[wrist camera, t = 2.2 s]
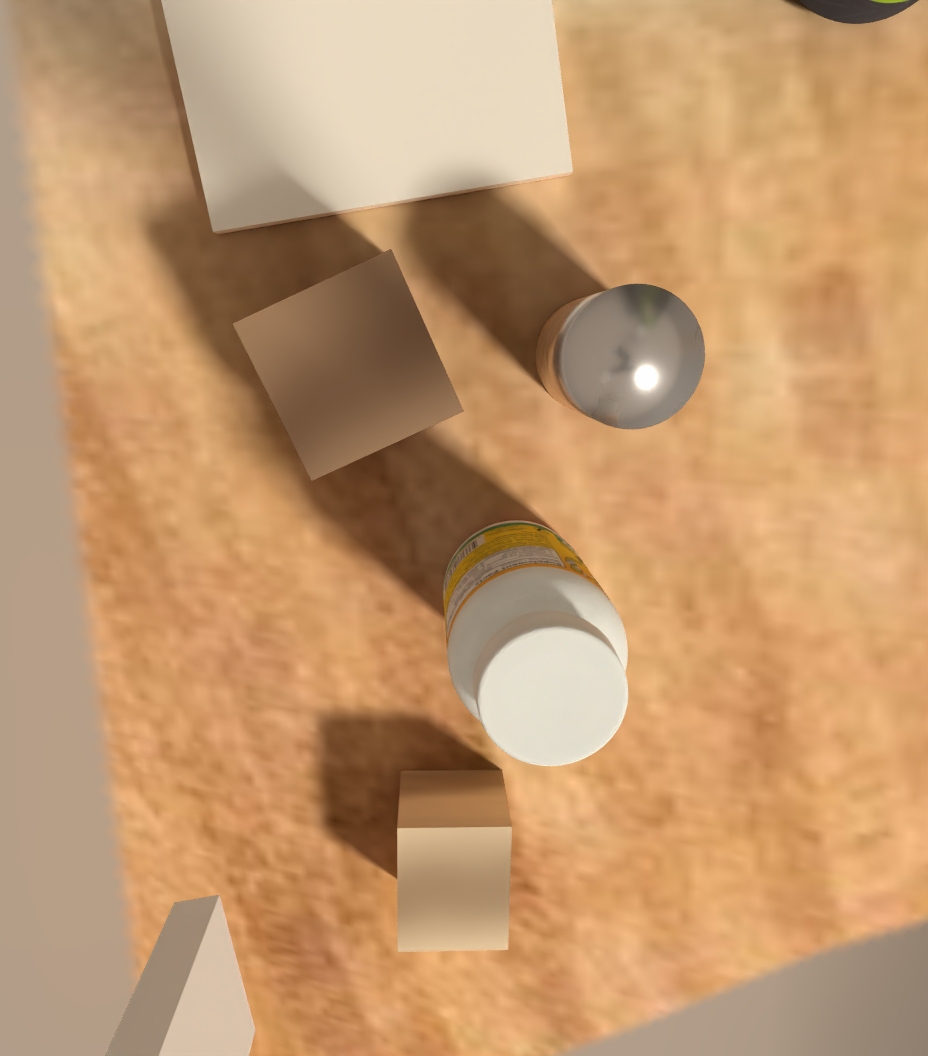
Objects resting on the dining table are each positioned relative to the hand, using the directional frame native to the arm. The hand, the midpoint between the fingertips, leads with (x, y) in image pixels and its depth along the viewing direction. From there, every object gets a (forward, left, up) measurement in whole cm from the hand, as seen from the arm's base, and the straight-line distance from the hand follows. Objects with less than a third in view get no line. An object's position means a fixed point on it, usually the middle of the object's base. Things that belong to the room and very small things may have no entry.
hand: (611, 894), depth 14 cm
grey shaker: (-8, +4, -17) cm, 19 cm away
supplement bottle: (0, 0, -17) cm, 17 cm away
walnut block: (-9, -4, -17) cm, 20 cm away
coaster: (-20, -2, -17) cm, 26 cm away
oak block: (+9, -4, -17) cm, 20 cm away
